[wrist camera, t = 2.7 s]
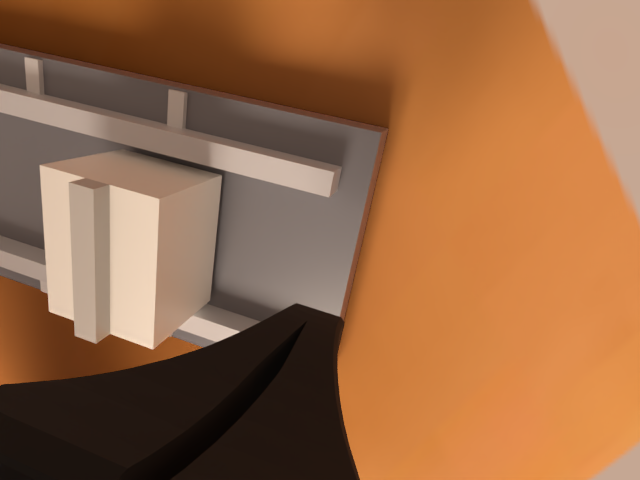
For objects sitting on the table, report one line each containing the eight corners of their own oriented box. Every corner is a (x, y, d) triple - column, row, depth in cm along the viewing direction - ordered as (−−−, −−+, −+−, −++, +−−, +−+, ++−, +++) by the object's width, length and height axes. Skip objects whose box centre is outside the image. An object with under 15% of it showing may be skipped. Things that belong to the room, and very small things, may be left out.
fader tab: (210, 300, 17) (140, 360, 13) (121, 271, 18) (33, 320, 14) (222, 175, 15) (145, 204, 11) (122, 149, 16) (21, 168, 12)
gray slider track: (333, 367, 19) (315, 406, 16) (-124, 211, 24) (-185, 224, 22) (388, 128, 15) (375, 136, 13) (-168, 6, 20) (-247, -4, 18)
